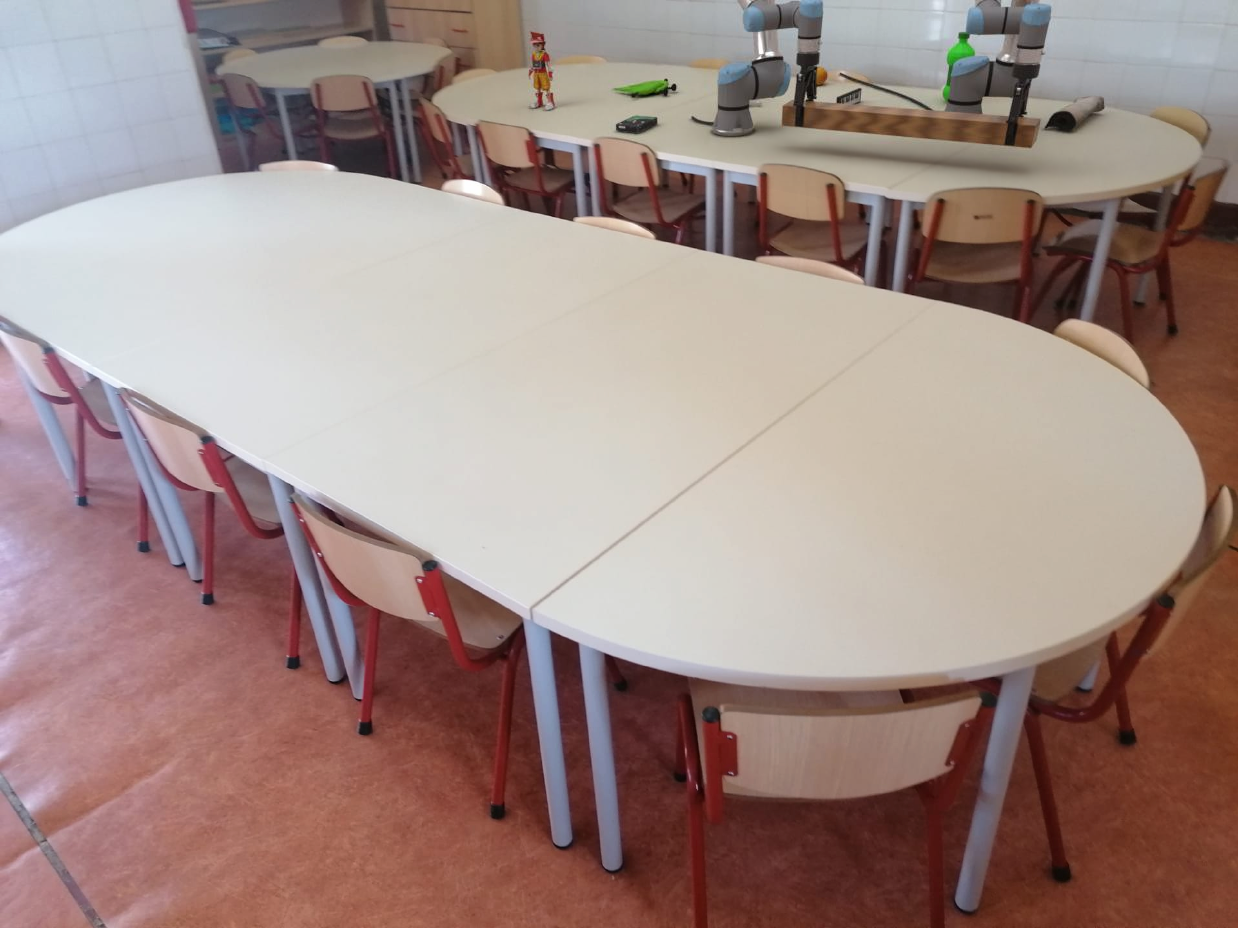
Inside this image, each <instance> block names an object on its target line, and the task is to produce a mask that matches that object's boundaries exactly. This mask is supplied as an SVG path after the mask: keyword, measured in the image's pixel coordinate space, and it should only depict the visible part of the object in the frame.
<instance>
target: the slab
mask: <svg viewBox="0 0 1238 928" xmlns="http://www.w3.org/2000/svg"><path fill="white" fill-rule="evenodd" d="M793 104H794V99H790V100H789V101H787V102H786V103H785V104H783V105H782V107H781V108H782V109H781V110H782V111H781V126H782V127H790V128H802V129H813V130H823V131H835V132H846V133H856V134H857V133H858V134H868V135H880V136H890V137H891V136H893V137H901V138H902V137H903V138H911V139H912V138H913V139H925V140H935V141H946V142H957V143H969V144H979V145H990V146H1003V147H1013V148H1026V149H1032V148H1033V146H1034V145H1035V144H1036V143H1037V139H1038V135H1039V130H1040V125H1041V120H1042V118H1038V117H1025V116H1024V117H1019V118H1018V127H1017V132H1016V137H1015V142H1014V146H1010V145H1004V143H1005V138H1006V132H1007V127H1008V123H1006V121H1008V118H1009V115H997V114H988V113H987V114H986V113H984V114H973V113H960V112H947V111H944V110H935V109H932V110H928V109H921V108H920V109H919V108H908V107H907V108H904V107H892V106H880V105H879V106H878V105H866V104H841V103H836V102H827V101H815V100H814V101H806V100H804V105H803V106H804V121H803V127H799V126H795V115H796V106H793ZM1011 119H1014V118H1011Z"/></svg>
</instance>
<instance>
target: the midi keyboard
mask: <svg viewBox="0 0 1238 928" xmlns="http://www.w3.org/2000/svg"><path fill="white" fill-rule="evenodd" d="M862 90H863V89H862V87H859V88H856V89H853V90H851V91H849V92H846V93H843V94H841V95H839V96H836V102H835V103H841V104H854V105H856V104H857V103H859V102H861V99H862Z"/></svg>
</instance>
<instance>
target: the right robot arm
mask: <svg viewBox="0 0 1238 928" xmlns="http://www.w3.org/2000/svg"><path fill="white" fill-rule="evenodd" d="M974 1H975V2H974V7H973V6H972V7H970V8H969V9H968V11H967V15H966V22H965V23H966V25H965V32H966V33H967V34H970V35H977V36H997V35H998V36H999V35H1000V36H1001V35H1002V36H1003V35H1004V40H1003V44H1002V50H1001V51H1000V52H999V53H997V54H996V57H995V60H990V59H991V58H990V57H989V56H988V55H975V56H971V57H966V58H962V59H959V60H957V61H956V62H955V63H954V65H953V70H952V74H951V83H950V89H949V95H948V102H947V101H946V106H945V108H944V110H943V111H947V112H960V113H973V114H983V105H982V104H983V98H1010V99H1012V101H1011V104H1010V109H1009V114H1008V116H1009V118H1008V121H1006V123H1008V127H1007V132H1006V138H1005V143H1004V145H1010V146H1009V147H1012V146H1014V142H1015V137H1016V132H1017V127H1018V118H1019V117H1025V116H1027V115H1028V111H1027V105H1028V100H1029V94H1030V89H1031V86H1032V81H1033V80H1034V79H1036V78H1038V77H1039V76H1040V75H1039V74H1040V69H1041V62H1042V59H1043V56H1044V55H1046V51H1045V45H1046V39H1047V35H1048V30H1049V25H1050V22H1051V18H1052V17H1051V16H1052V10H1053V8H1052V5H1050V4H1048V3H1040V0H1011V2H1010V6H1002V0H974ZM839 75H840V76H842V77H844V78H845V79H849V80H851V81H854V82H857V83H859V84H863V85H866V86H868V87H872V88H875V89H878V90H882V91H885V92H887V93H891V94H893V95H896V96H898V97H902V98H904V99H906V100H909V101H911V102H913V103H915V104H917V105H918V106H920V107H923V108H924V109H925V110H933V108H931V107H929V106H928V105H926V104H924V103H922V102H921V101H919V100H917V99H915V98H913V97H910V96H908V95H907V94H906V95H905V94H903V93H900V92H898V91H896V90H892V89H888V88H886V87H882V86H879V85H876V84H873V83H870V82H867V81H864V80H860V79H858V78H854V77H852V76H850V75H847V74H845V73H843V72H839ZM1011 118H1014V119H1011Z"/></svg>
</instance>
